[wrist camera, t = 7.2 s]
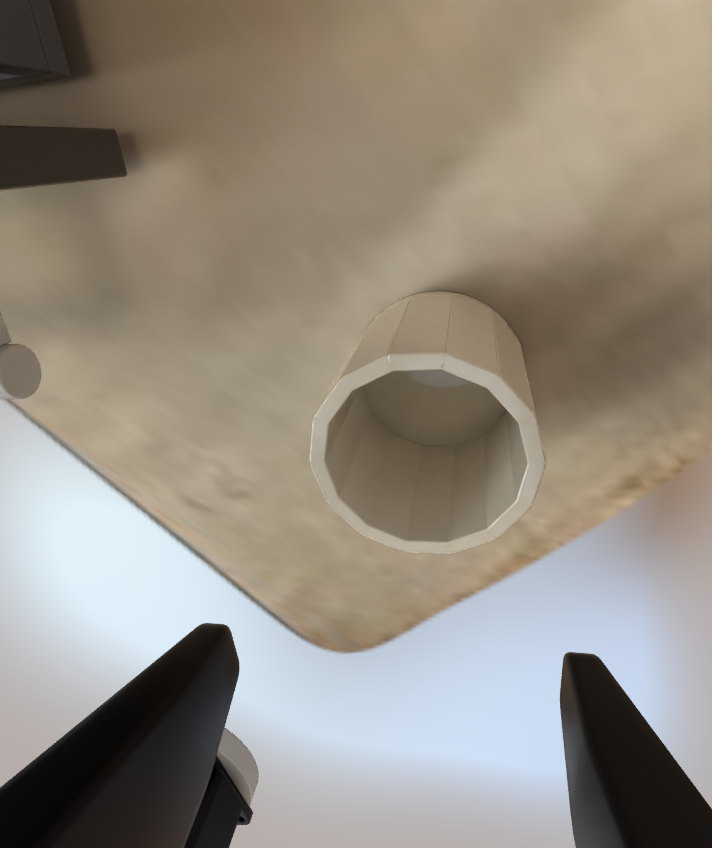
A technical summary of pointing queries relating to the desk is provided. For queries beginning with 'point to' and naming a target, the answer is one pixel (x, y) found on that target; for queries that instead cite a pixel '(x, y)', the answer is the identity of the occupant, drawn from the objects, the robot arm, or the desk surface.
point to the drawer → (41, 149)
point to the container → (430, 428)
